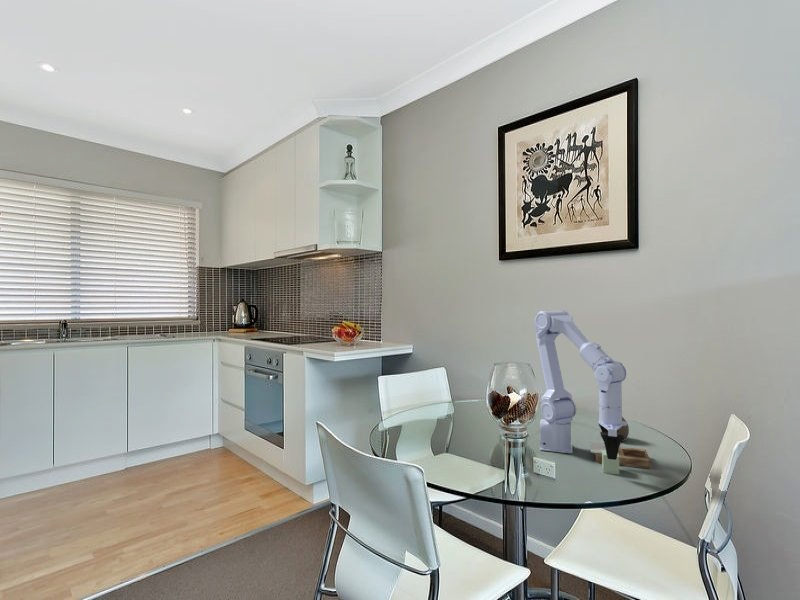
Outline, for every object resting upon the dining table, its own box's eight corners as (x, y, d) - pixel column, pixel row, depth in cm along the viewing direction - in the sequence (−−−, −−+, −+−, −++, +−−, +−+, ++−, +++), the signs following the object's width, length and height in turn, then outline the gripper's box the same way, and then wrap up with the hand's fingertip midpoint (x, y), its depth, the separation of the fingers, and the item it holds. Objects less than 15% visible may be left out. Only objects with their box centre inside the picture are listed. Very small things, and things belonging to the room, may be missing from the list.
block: (603, 472, 121) (603, 454, 121) (602, 467, 125) (602, 449, 125) (619, 474, 120) (619, 456, 119) (617, 468, 123) (617, 451, 123)
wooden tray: (596, 462, 128) (596, 454, 128) (594, 451, 136) (594, 444, 136) (650, 468, 123) (650, 460, 123) (645, 456, 131) (645, 449, 131)
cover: (590, 452, 129) (590, 444, 129) (589, 443, 136) (589, 435, 136) (614, 455, 127) (614, 446, 127) (612, 445, 134) (612, 437, 134)
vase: (631, 443, 143) (631, 416, 142) (609, 442, 144) (608, 415, 144) (625, 436, 149) (625, 410, 149) (603, 435, 151) (603, 410, 150)
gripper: (629, 413, 113) (630, 465, 114) (623, 400, 127) (624, 446, 127) (599, 411, 116) (600, 462, 116) (597, 398, 129) (597, 443, 130)
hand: (610, 453), depth 122 cm, fingers open, 7 cm apart
